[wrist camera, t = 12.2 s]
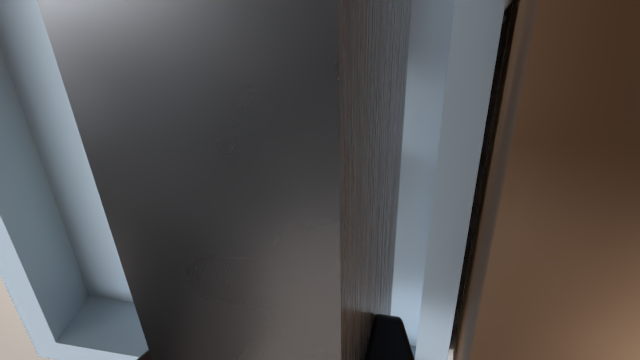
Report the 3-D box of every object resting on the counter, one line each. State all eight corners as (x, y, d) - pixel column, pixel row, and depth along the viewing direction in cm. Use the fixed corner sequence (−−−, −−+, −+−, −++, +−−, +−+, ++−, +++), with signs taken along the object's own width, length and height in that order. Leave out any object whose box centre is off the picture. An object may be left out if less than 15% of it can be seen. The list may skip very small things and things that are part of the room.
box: (575, -491, 9) (611, -575, 7) (444, 350, 21) (440, 428, 18) (-179, -417, 12) (-348, -460, 9) (83, 294, 23) (38, 356, 21)
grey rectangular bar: (429, -256, 7) (335, -234, 3) (382, 429, 15) (343, 673, 11) (258, -252, 7) (-35, -227, 3) (306, 413, 15) (243, 643, 12)
